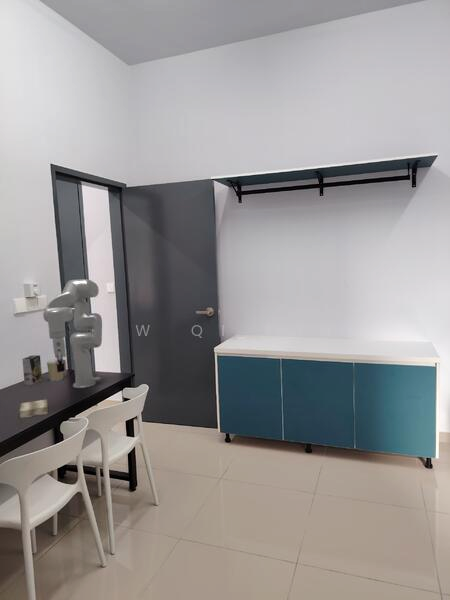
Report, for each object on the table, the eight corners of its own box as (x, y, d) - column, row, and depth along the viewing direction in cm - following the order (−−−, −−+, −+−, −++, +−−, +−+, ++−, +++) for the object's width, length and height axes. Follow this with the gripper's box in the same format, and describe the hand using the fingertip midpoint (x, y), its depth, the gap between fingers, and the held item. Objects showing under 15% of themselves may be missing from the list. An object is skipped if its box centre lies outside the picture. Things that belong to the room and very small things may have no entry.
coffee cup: (67, 378, 265) (65, 359, 264) (53, 382, 258) (51, 363, 257) (59, 376, 271) (58, 357, 270) (45, 380, 264) (43, 361, 263)
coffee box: (34, 385, 255) (31, 358, 253) (24, 385, 256) (21, 358, 254) (43, 380, 264) (40, 355, 262) (33, 380, 265) (31, 355, 263)
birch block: (47, 406, 218) (46, 399, 217) (47, 414, 207) (46, 406, 206) (21, 411, 213) (21, 403, 213) (20, 419, 202) (19, 411, 202)
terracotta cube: (66, 369, 216) (65, 359, 216) (66, 371, 212) (65, 361, 211) (55, 370, 215) (54, 361, 214) (55, 373, 210) (54, 363, 209)
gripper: (66, 336, 205) (69, 373, 207) (65, 330, 220) (68, 365, 222) (49, 338, 202) (53, 375, 204) (49, 332, 217) (52, 367, 220)
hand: (60, 369), depth 213 cm, fingers closed on terracotta cube, 4 cm apart
